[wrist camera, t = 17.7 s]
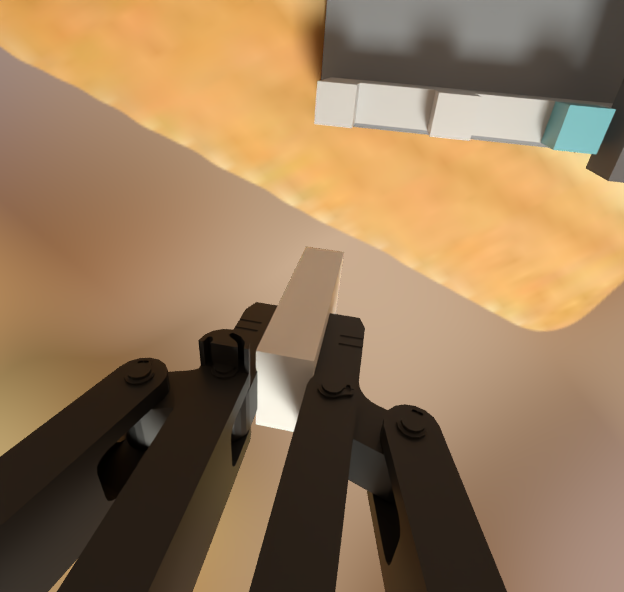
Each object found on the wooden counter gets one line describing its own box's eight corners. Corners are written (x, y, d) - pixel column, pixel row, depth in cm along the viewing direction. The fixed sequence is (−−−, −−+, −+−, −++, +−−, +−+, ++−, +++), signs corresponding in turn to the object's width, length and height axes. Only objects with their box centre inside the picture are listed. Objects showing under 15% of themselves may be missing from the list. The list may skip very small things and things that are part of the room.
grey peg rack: (339, -134, 30) (319, -200, 22) (813, -120, 26) (983, -194, 19) (319, 121, 39) (301, 135, 32) (666, 158, 36) (739, 185, 28)
